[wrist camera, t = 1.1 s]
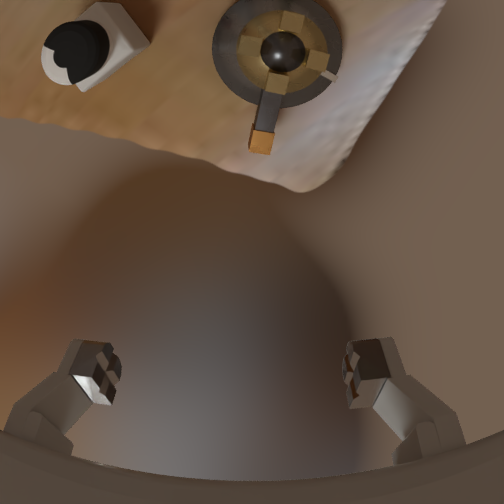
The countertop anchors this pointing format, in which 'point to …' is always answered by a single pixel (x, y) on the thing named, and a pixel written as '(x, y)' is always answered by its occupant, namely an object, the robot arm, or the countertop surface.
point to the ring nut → (278, 65)
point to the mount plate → (247, 8)
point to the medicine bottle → (92, 46)
